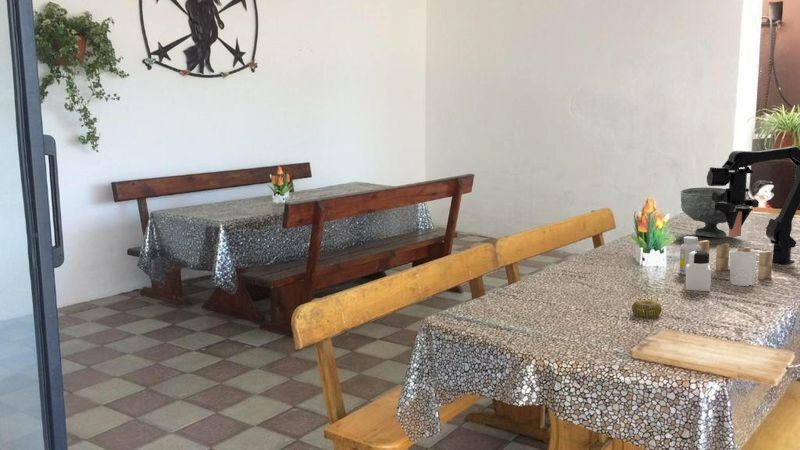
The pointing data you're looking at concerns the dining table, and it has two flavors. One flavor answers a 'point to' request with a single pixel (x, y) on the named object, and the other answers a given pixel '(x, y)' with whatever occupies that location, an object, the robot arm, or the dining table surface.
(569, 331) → the dining table surface
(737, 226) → the domino
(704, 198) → the decorative bowl
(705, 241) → the domino
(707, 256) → the medicine bottle
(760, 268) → the domino
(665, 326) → the dining table surface
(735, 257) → the white cup
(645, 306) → the olive green ribbed ring
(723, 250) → the domino
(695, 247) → the supplement bottle
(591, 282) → the dining table surface
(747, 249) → the domino
